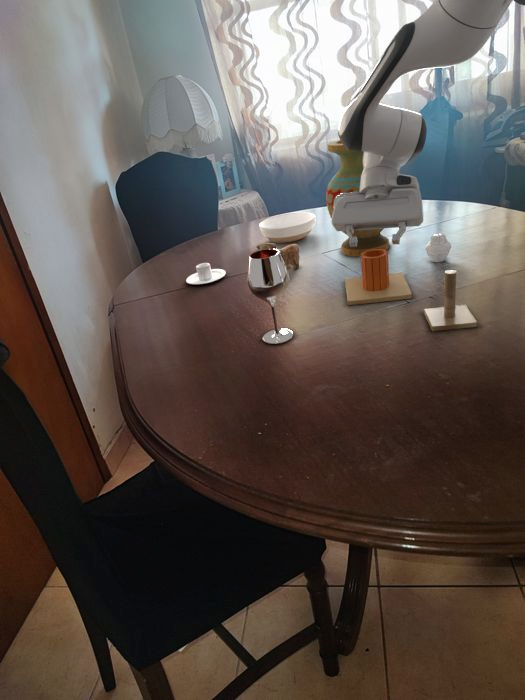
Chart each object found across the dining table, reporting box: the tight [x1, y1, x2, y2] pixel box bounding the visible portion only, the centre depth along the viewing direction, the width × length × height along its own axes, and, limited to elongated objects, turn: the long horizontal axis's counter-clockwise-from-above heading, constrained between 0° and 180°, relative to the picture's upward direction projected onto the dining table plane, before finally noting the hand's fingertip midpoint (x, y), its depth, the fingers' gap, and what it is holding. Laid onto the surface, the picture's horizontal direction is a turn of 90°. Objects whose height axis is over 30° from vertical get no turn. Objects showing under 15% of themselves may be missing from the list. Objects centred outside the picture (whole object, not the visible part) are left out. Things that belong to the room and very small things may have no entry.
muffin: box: [425, 233, 452, 263], centre depth 117 cm, size 6×6×7 cm
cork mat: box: [344, 271, 413, 306], centre depth 109 cm, size 14×14×1 cm
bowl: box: [258, 211, 317, 244], centre depth 159 cm, size 20×20×6 cm
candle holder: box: [185, 262, 227, 285], centre depth 136 cm, size 12×12×4 cm
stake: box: [423, 269, 478, 332], centre depth 88 cm, size 8×8×10 cm
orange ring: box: [360, 249, 390, 291], centre depth 107 cm, size 6×6×8 cm
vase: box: [325, 139, 390, 257], centre depth 130 cm, size 20×20×30 cm
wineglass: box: [247, 248, 294, 345], centre depth 92 cm, size 8×8×18 cm
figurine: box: [256, 242, 301, 270], centre depth 128 cm, size 7×16×10 cm, turn 139°
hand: (373, 244), depth 103 cm, fingers open, 8 cm apart
